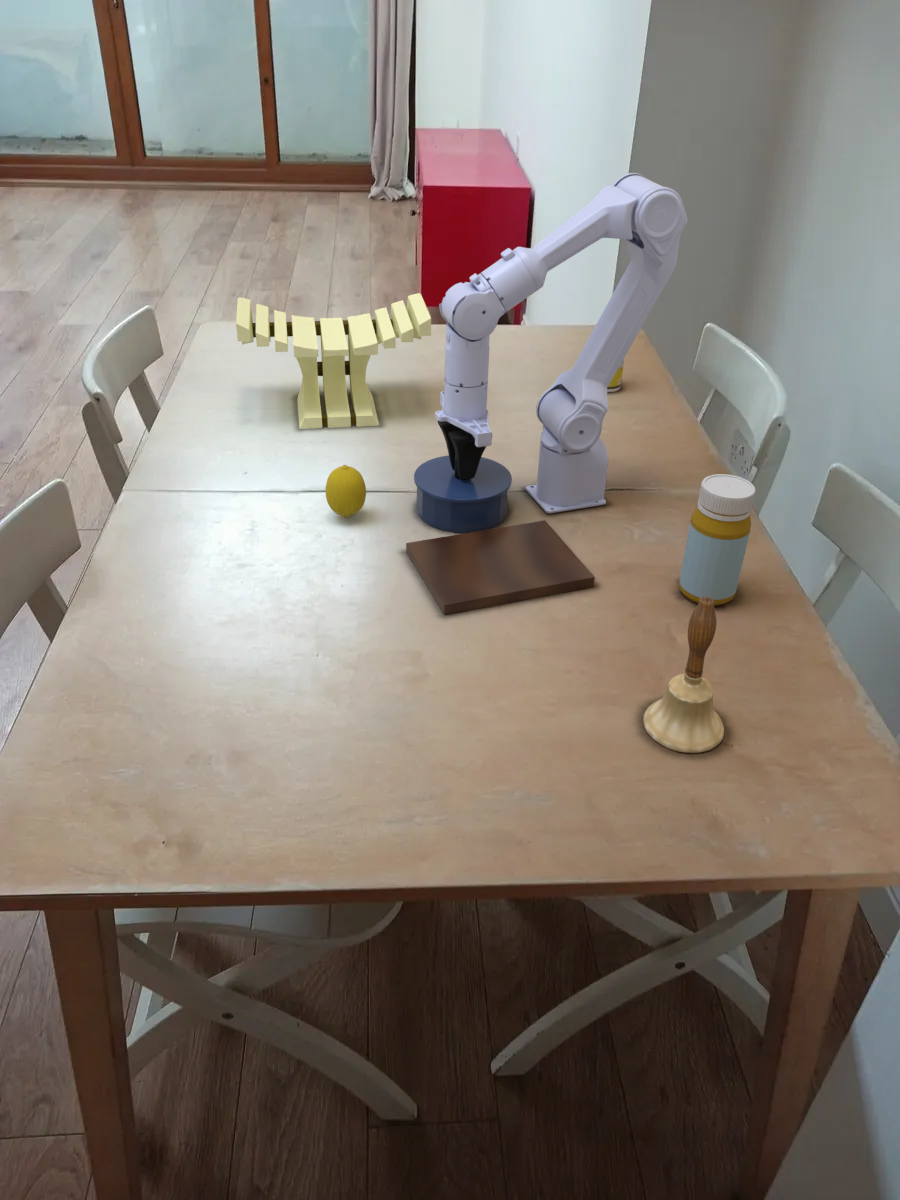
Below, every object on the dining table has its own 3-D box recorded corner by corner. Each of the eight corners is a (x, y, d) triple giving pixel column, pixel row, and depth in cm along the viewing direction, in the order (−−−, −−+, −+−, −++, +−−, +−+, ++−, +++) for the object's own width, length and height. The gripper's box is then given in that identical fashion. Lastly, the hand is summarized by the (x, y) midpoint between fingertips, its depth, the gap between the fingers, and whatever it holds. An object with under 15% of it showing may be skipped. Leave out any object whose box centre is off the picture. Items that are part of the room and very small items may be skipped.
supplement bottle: (584, 384, 178) (590, 331, 172) (610, 380, 180) (616, 328, 174) (600, 394, 174) (607, 341, 168) (626, 390, 176) (633, 337, 170)
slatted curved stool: (417, 387, 175) (418, 287, 165) (429, 423, 162) (431, 318, 152) (248, 393, 171) (238, 291, 161) (246, 431, 158) (235, 323, 148)
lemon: (360, 529, 133) (358, 476, 128) (321, 524, 134) (318, 472, 129) (371, 510, 137) (370, 458, 133) (333, 505, 138) (331, 454, 134)
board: (544, 529, 134) (545, 520, 133) (593, 586, 122) (594, 576, 122) (406, 552, 128) (406, 542, 127) (444, 615, 117) (444, 604, 116)
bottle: (737, 583, 124) (761, 478, 115) (731, 613, 118) (756, 504, 110) (682, 572, 126) (701, 468, 117) (674, 601, 120) (694, 494, 112)
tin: (486, 484, 145) (488, 454, 142) (520, 524, 135) (522, 493, 132) (405, 496, 141) (405, 465, 138) (434, 538, 131) (434, 507, 128)
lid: (489, 456, 143) (491, 427, 140) (526, 498, 132) (529, 468, 130) (401, 468, 139) (401, 439, 136) (432, 513, 128) (432, 483, 126)
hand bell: (672, 762, 97) (699, 633, 88) (627, 711, 103) (648, 586, 94) (740, 741, 99) (773, 613, 90) (692, 692, 106) (719, 569, 97)
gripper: (419, 363, 131) (419, 454, 139) (456, 404, 120) (453, 501, 128) (468, 357, 133) (465, 448, 141) (509, 397, 122) (503, 493, 130)
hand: (463, 472), depth 135 cm, fingers closed on lid, 2 cm apart
